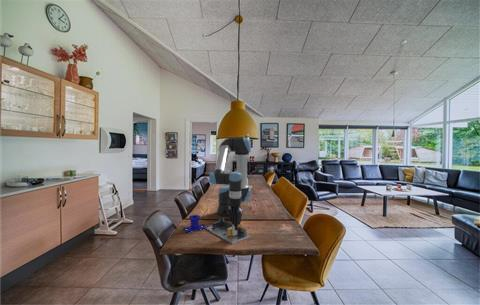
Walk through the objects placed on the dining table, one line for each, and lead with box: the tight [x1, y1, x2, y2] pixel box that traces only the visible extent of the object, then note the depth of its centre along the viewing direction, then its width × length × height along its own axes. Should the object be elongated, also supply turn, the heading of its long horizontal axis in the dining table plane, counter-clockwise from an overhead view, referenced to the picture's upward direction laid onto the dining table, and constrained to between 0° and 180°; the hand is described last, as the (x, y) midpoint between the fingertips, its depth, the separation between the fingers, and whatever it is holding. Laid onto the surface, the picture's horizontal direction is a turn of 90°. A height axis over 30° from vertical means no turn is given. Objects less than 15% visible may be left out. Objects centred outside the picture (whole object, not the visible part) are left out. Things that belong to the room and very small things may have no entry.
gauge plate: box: [205, 216, 250, 245], centre depth 139 cm, size 28×14×7 cm, turn 42°
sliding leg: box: [227, 222, 243, 236], centre depth 135 cm, size 3×11×7 cm, turn 132°
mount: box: [182, 214, 207, 233], centre depth 145 cm, size 15×8×9 cm, turn 121°
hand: (234, 234), depth 132 cm, fingers closed
